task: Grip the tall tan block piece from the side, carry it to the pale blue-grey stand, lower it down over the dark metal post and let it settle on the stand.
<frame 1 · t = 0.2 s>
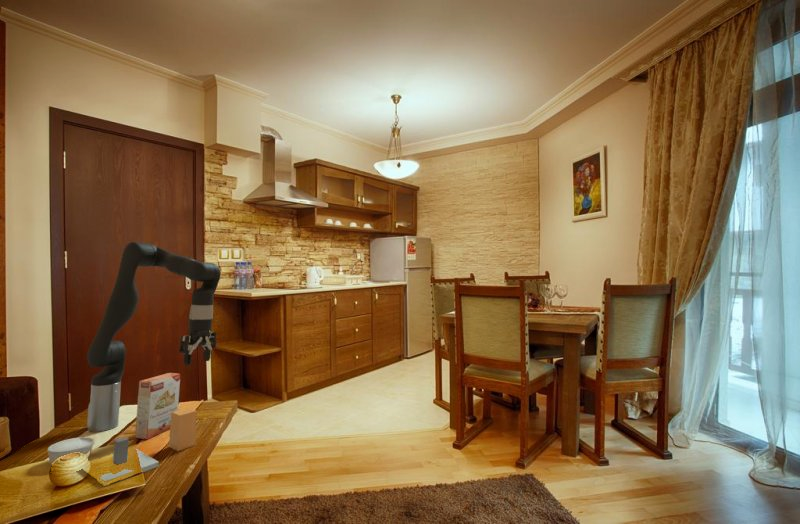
hand: (197, 362, 133), 29 cm above the table, tool pointing down, fingers open, 8 cm apart
post stand: (119, 467, 115), on the table
ramekin: (70, 461, 119), on the table
tan block piece: (182, 446, 131), on the table
cracker box: (157, 432, 142), on the table
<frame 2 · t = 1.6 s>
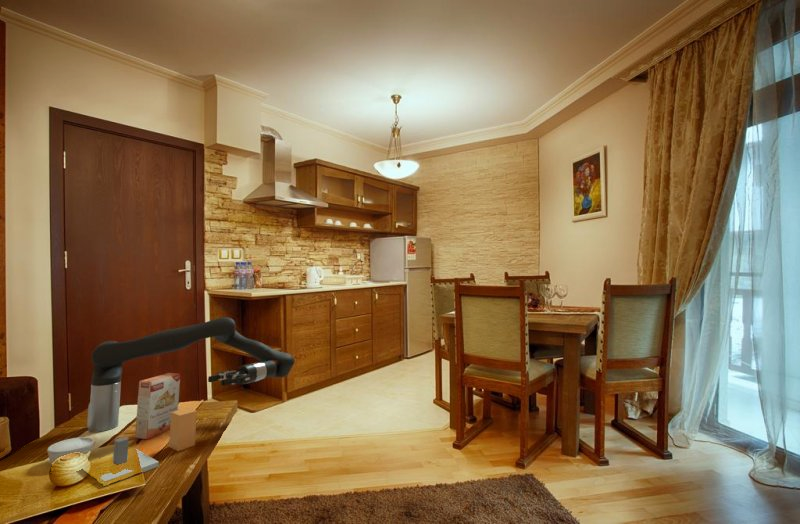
hand: (214, 381, 141), 20 cm above the table, tool horizontal, fingers open, 8 cm apart
nothing on the table moved.
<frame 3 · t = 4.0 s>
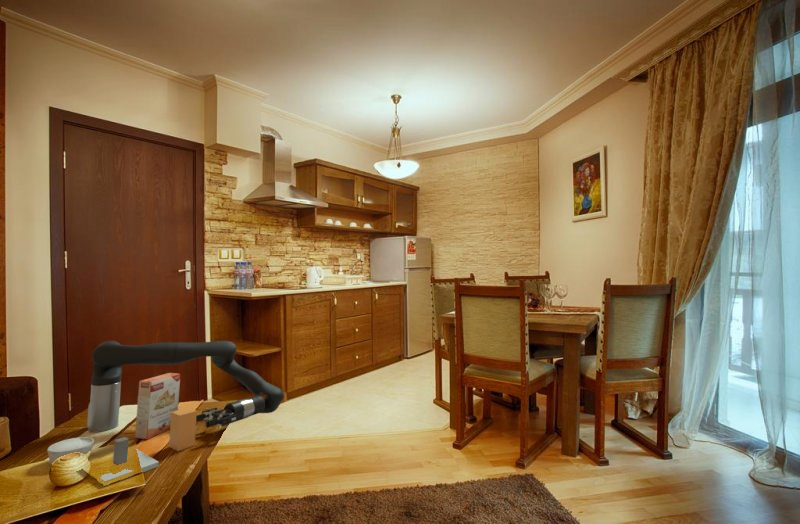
hand: (199, 422, 136), 7 cm above the table, tool horizontal, fingers open, 8 cm apart
nothing on the table moved.
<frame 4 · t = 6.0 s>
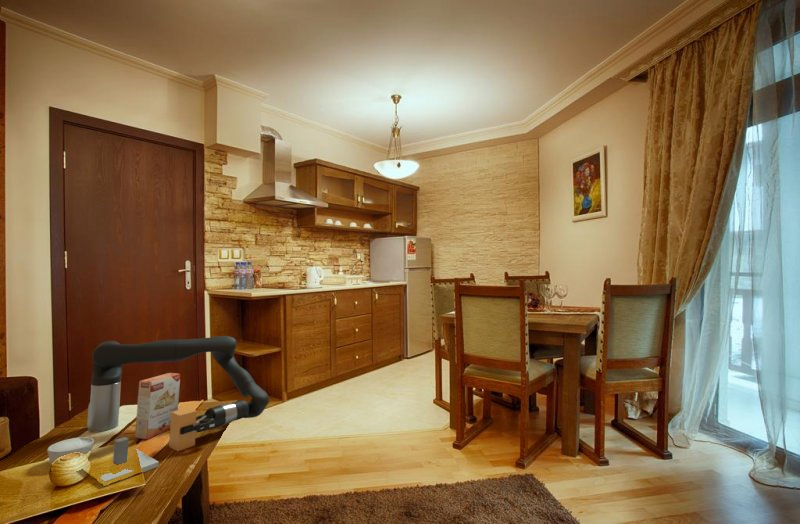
hand: (175, 429, 129), 7 cm above the table, tool horizontal, fingers closed on tan block piece, 5 cm apart
tan block piece: (182, 446, 131), on the table, touching gripper
everything else where it was.
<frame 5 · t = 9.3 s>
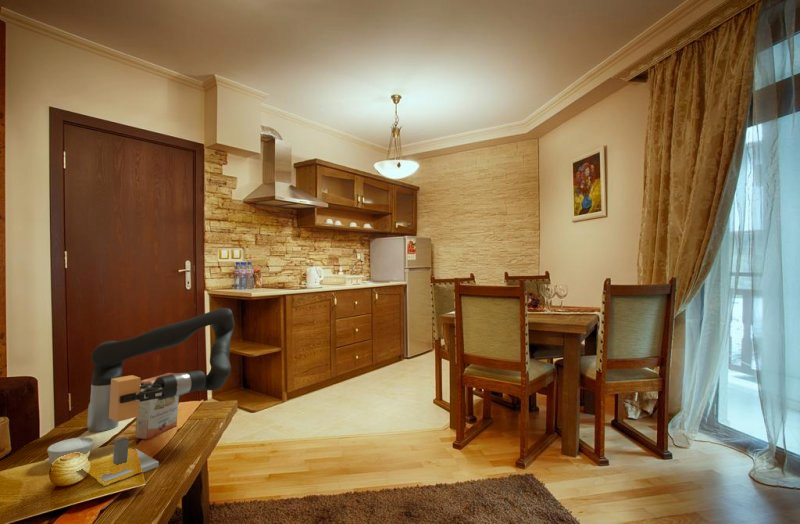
hand: (115, 397, 114), 22 cm above the table, tool horizontal, fingers closed on tan block piece, 5 cm apart
tan block piece: (123, 417, 116), point 15 cm above the table, touching gripper
everything else where it was.
when the fingers open (9 cm above the table, at t = 12.5 s): tan block piece drops 1 cm, resting on post stand.
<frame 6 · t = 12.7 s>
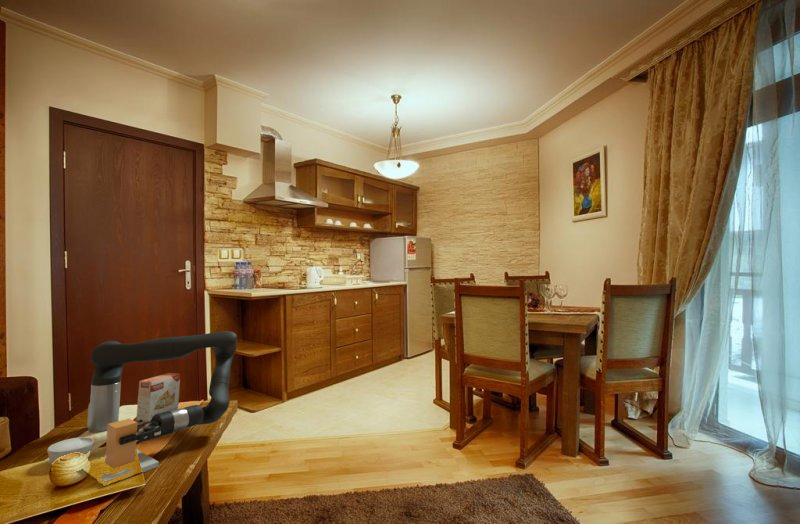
hand: (114, 438, 114), 10 cm above the table, tool horizontal, fingers open, 7 cm apart
tan block piece: (120, 462, 115), point 1 cm above the table, touching post stand
everything else where it was.
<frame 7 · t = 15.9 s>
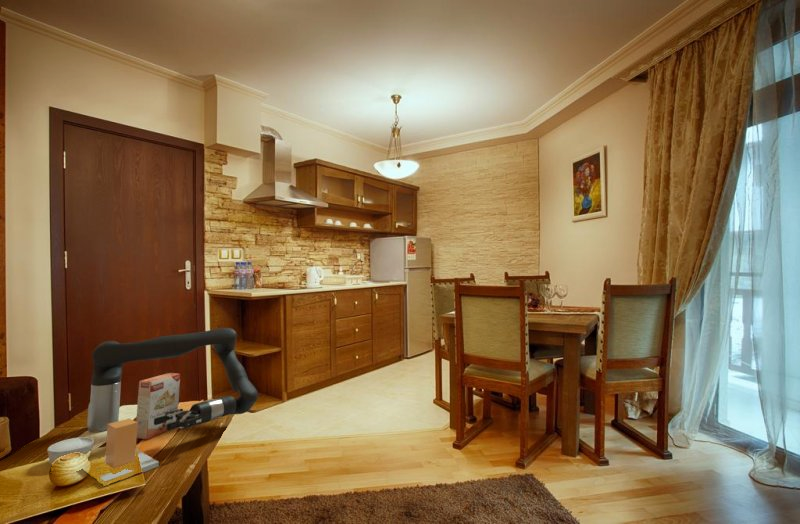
hand: (160, 424, 125), 10 cm above the table, tool horizontal, fingers open, 8 cm apart
nothing on the table moved.
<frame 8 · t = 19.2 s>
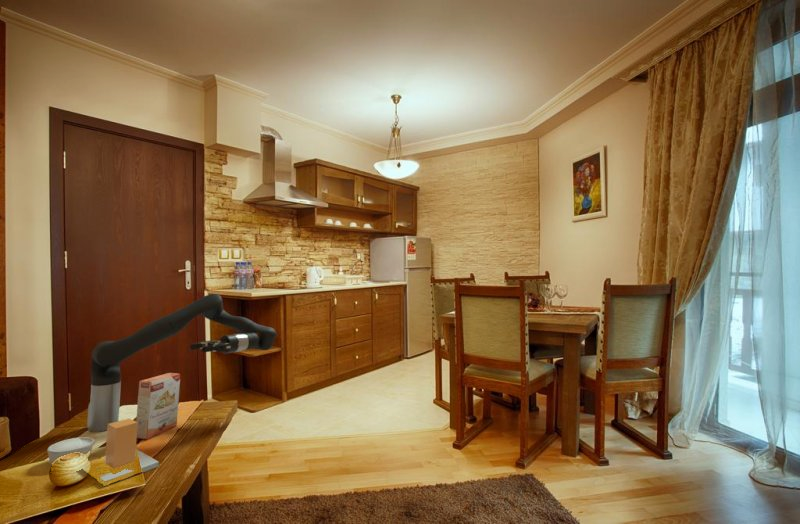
hand: (196, 348, 144), 32 cm above the table, tool horizontal, fingers open, 8 cm apart
nothing on the table moved.
at the end: tan block piece 0.0 cm from the post stand (horizontally); tan block piece point 1.5 cm above the table; tan block piece tilted 0° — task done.
